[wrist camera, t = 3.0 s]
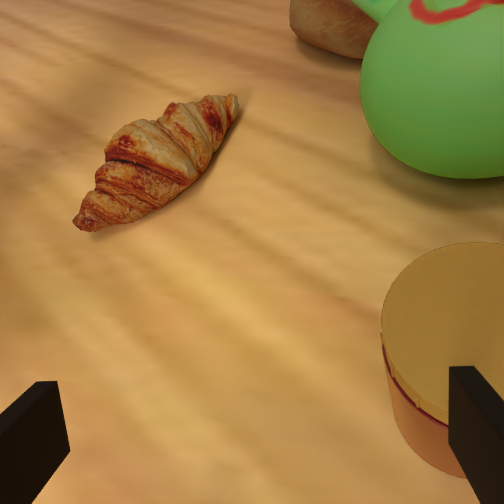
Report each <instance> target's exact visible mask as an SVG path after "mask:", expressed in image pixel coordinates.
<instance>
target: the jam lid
mask: <svg viewBox="0 0 504 504" xmlns="http://www.w3.org/2000/svg"><path fill="white" fill-rule="evenodd" d="M381 327H382V333H380V335H381V340H382V345H383V344H384V348H385V353H386V357H387V361H388V363H389V366H390V369H391V374H392V377H395V379H396V380H397V382H398V383H399V385H400V386H401V388H402V389H403V390H404V392H405V393H406V394H407V395H408V396H409V397H410V398H411V399H412V401H413V402H415V403H416V407H417V408H419V407H420V408H421V409H423V410H424V411H425V412H427V413H428V414H430V415H431V416H433V417H434V418H436V419H438V420H440V421H441V422H443V423H445V424H447V425H448V402H449V366H475V367H476V369H477V370H478V371H479V372H480V373H481V374H482V376H483V377H484V378H485V379H486V380H487V381H488V383H489V384H490V385H491V386H492V387H493V388H494V390H495V391H496V392H497V393H498V394H499V396H500V397H501V398H502V399H503V400H504V245H502V244H497V243H487V242H469V243H459V244H454V245H449V246H445V247H442V248H439V249H436V250H434V251H431V252H429V253H427V254H425V255H423V256H421V257H420V258H418V259H416V260H415V261H414V262H412V263H411V264H410V265H408V266H407V267H406V268H405V269H404V270H403V271H402V272H401V273H400V274H399V275H398V277H397V278H396V279H395V281H394V282H393V283H392V285H391V287H390V289H389V291H388V293H387V295H386V298H385V301H384V304H383V309H382V318H381Z"/></svg>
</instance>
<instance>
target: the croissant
mask: <svg viewBox="0 0 504 504" xmlns="http://www.w3.org/2000/svg"><path fill="white" fill-rule="evenodd" d="M238 108H239V103H238V98H237V96H236V95H235V94H229V95H228V96H227V97H225V96H210V95H208V96H205V97H204V98H203V99H202V100H201V101H200V102H197V103H195V102H191V103H188V104H183V103H182V104H181V103H178V104H176V103H173V102H172V103H170V104H169V105H168V107H167V108H166V110H165V112H164V114H163V115H162V117H160V118H158V119H157V121H154V120H151V121H147V120H145V119H140V120H136V121H133V122H131V123H130V124H128V125H125V126H123V127H122V128H121V129H120V130H119V131H118V132H116V133H115V134H114V135H113V137H112V138H111V140H110V141H109V143H108V144H107V146H106V147H105V148H104V152H105V155H106V156H105V161H106V163H105V164H104V165H103V166H101V167H100V168H99V169H98V170H97V171H96V173H95V183H96V188H95V189H94V191H92V190H91V191H89V192H88V193H87V195H86V196H85V198H84V199H83V202H82V205H81V209H80V212H79V214H78V215H77V216H76V217H75V218H74V219H73V224H74V225H75V226H76V227H78V228H79V229H80V230H84V231H87V232H92V231H94V232H95V231H98V230H101V229H103V228H107V227H110V226H112V225H114V224H126V223H129V222H134V221H136V220H137V219H141V218H142V217H143V216H144V215H146V214H148V213H149V212H151V211H153V210H157V209H160V208H162V207H163V206H165V205H166V204H168V203H169V202H170V201H172V200H173V199H174V198H175V197H176V196H177V195H178V194H179V193H181V192H182V191H184V190H185V189H186V188H188V187H189V186H190V185H191V184H193V183H194V182H195V181H196V180H197V179H198V177H200V176H201V175H202V173H203V172H204V171H205V170H206V168H207V166H208V165H209V161H210V159H211V156H212V153H213V152H215V151H216V150H217V149H218V147H219V146H220V144H221V142H222V140H223V136H224V134H225V132H226V128H228V127H229V126H231V125H232V123H233V121H234V119H235V117H236V115H237V113H238Z"/></svg>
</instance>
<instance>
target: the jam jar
mask: <svg viewBox="0 0 504 504" xmlns="http://www.w3.org/2000/svg"><path fill="white" fill-rule="evenodd" d="M382 351H383V357H384V362H385V368H386V373H387V379H388V384H389V389H390V395H391V400H392V405H393V411H394V415H395V419H396V422H397V425H398V428H399V430H400V432H401V434H402V436H403V437H404V439H405V440H406V442H407V443H408V445H409V446H410V447H411V448H412V449H413V450H414V452H415V453H416V454H418V455H419V456H420V457H421V458H422V459H423V460H424V461H426V462H427V463H428V464H430V465H431V466H433V467H435V468H437V469H438V470H440V471H442V472H445V473H447V474H449V475H453V476H456V477H459V478H465V479H467V477H466V475H465V474H464V472H463V470H462V468H461V466H460V464H459V462H458V461H457V459H456V457H455V455H454V453H453V451H452V449H451V448H450V446H449V444H448V425H447V424H445V423H443V422H441V421H440V420H438V419H436V418H434V417H433V416H431V415H430V414H428V413H427V412H425V411H424V410H423V409H421V408H420V407H419V408H417V407H416V403H415V402H413V401H412V399H411V398H410V397H409V396H408V395H407V394H406V393H405V392H404V390H403V389H402V388H401V386H400V385H399V383H398V382H397V380H396V379H395V377H392V374H391V369H390V366H389V363H388V361H387V357H386V353H385V348H384V344H383V345H382Z"/></svg>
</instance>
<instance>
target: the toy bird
mask: <svg viewBox="0 0 504 504" xmlns="http://www.w3.org/2000/svg"><path fill="white" fill-rule="evenodd" d="M351 1H352V2H353V3H354V4H355V5H356V6H358V7H359V8H360V9H361V10H363V11H364V12H365V13H366V14H368V15H369V16H370V17H371V18H372V19H374V20H375V21H376V22H377V23H378V24H379V25H378V27H377V28H376V30H375V32H374V34H373V35H372V37H371V39H370V42H369V44H368V46H367V49H366V52H365V55H364V58H363V62H362V67H361V73H360V97H361V103H362V108H363V112H364V115H365V118H366V120H367V123H368V125H369V127H370V129H371V131H372V132H373V134H374V136H375V137H376V139H377V140H378V141H379V142H380V144H381V145H382V146H383V147H384V148H385V149H386V150H387V151H388V152H389V153H390V154H392V155H393V156H394V157H395V158H397V159H398V160H400V161H401V162H403V163H405V164H406V165H408V166H410V167H412V168H415V169H417V170H419V171H422V172H425V173H428V174H432V175H437V176H442V177H449V178H461V179H478V178H491V177H499V176H504V0H351Z"/></svg>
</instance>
